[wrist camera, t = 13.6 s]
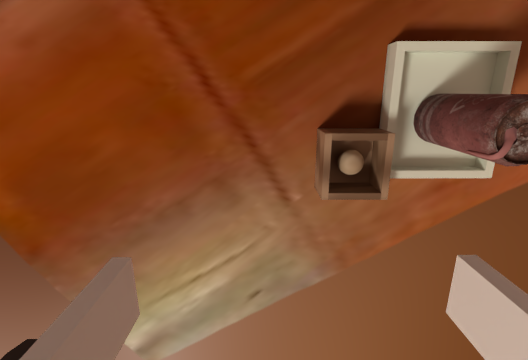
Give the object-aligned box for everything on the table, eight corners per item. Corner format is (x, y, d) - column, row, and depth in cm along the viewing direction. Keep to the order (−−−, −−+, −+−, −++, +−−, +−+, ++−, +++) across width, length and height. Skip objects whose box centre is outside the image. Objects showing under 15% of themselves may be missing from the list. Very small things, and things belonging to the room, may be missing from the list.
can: (399, 125, 38) (474, 144, 25) (435, 83, 37) (534, 78, 23) (433, 153, 39) (522, 185, 26) (469, 112, 38) (583, 124, 24)
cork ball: (335, 147, 39) (342, 152, 36) (360, 147, 39) (368, 152, 36) (334, 171, 40) (340, 177, 37) (358, 171, 40) (366, 177, 37)
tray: (388, 44, 36) (397, 41, 34) (504, 44, 36) (521, 41, 34) (374, 172, 41) (381, 178, 38) (477, 172, 41) (491, 178, 38)
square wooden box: (317, 128, 39) (325, 133, 34) (379, 128, 39) (395, 133, 34) (314, 186, 41) (321, 199, 36) (372, 186, 41) (387, 199, 36)
